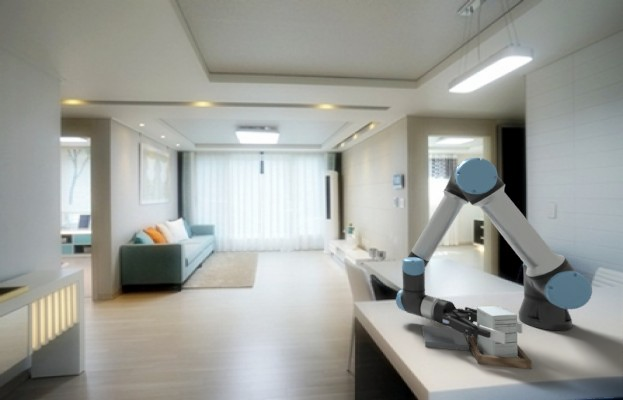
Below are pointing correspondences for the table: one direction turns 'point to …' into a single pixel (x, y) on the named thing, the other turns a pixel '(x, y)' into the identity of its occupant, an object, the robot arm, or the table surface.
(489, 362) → the walnut holder
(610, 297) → the table surface
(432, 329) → the slate trivet
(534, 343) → the table surface
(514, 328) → the supplement box
